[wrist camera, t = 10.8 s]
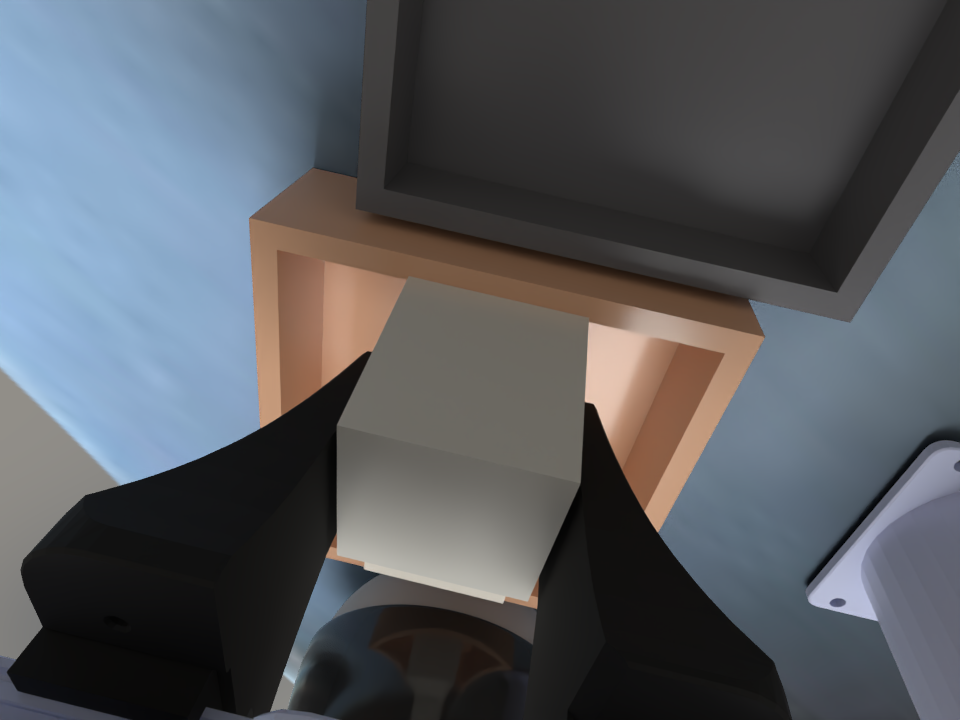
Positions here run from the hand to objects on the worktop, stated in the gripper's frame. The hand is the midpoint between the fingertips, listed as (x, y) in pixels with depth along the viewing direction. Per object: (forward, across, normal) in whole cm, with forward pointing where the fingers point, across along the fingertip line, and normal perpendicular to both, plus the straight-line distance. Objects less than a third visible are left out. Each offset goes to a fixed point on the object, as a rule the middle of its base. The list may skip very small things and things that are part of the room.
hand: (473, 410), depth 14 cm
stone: (+1, 0, -1) cm, 1 cm away
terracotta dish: (+4, 0, +2) cm, 5 cm away
